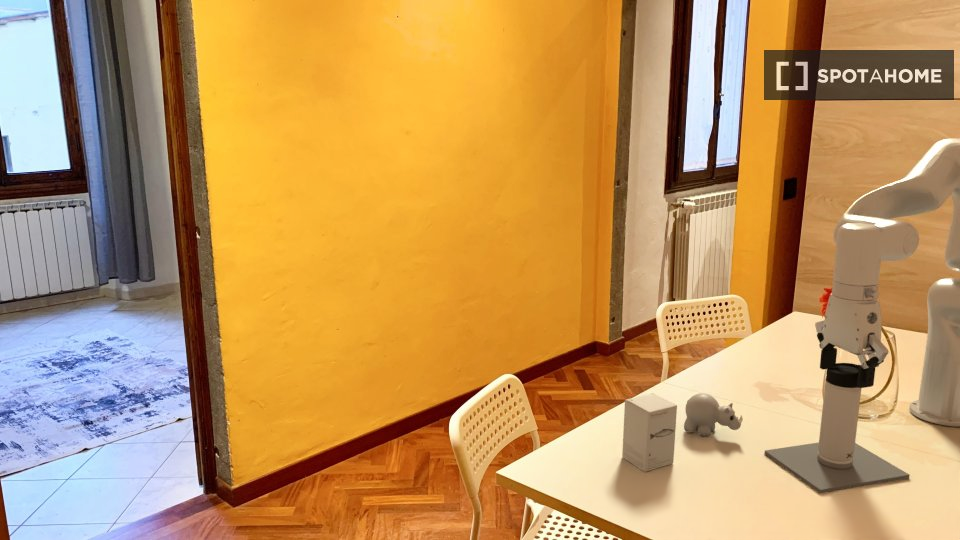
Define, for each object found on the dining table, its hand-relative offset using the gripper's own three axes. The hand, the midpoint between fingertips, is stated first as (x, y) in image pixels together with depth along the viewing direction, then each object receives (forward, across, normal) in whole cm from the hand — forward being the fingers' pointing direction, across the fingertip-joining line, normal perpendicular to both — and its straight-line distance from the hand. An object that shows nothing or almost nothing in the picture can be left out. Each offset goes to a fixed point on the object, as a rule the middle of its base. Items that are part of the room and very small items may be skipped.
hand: (845, 377), depth 140 cm
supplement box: (+18, +12, +35) cm, 41 cm away
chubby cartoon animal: (+18, +19, +16) cm, 31 cm away
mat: (+18, 0, +1) cm, 18 cm away
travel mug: (+18, 0, +1) cm, 18 cm away
